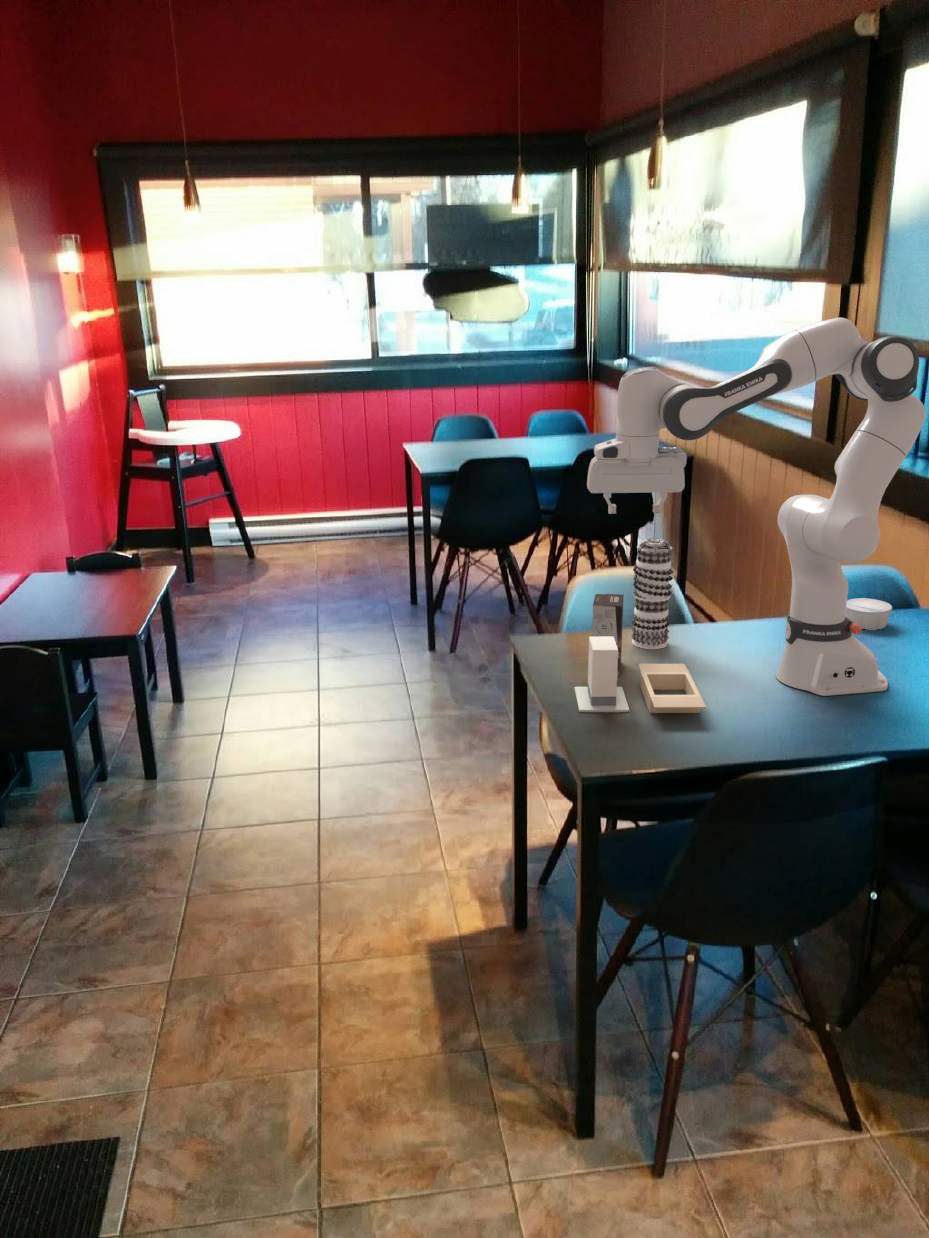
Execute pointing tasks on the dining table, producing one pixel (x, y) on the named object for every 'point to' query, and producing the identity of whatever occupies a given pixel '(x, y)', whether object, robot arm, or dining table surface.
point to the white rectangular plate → (586, 706)
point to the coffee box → (609, 619)
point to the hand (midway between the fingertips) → (634, 513)
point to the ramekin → (868, 613)
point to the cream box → (602, 670)
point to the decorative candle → (652, 594)
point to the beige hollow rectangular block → (669, 680)
